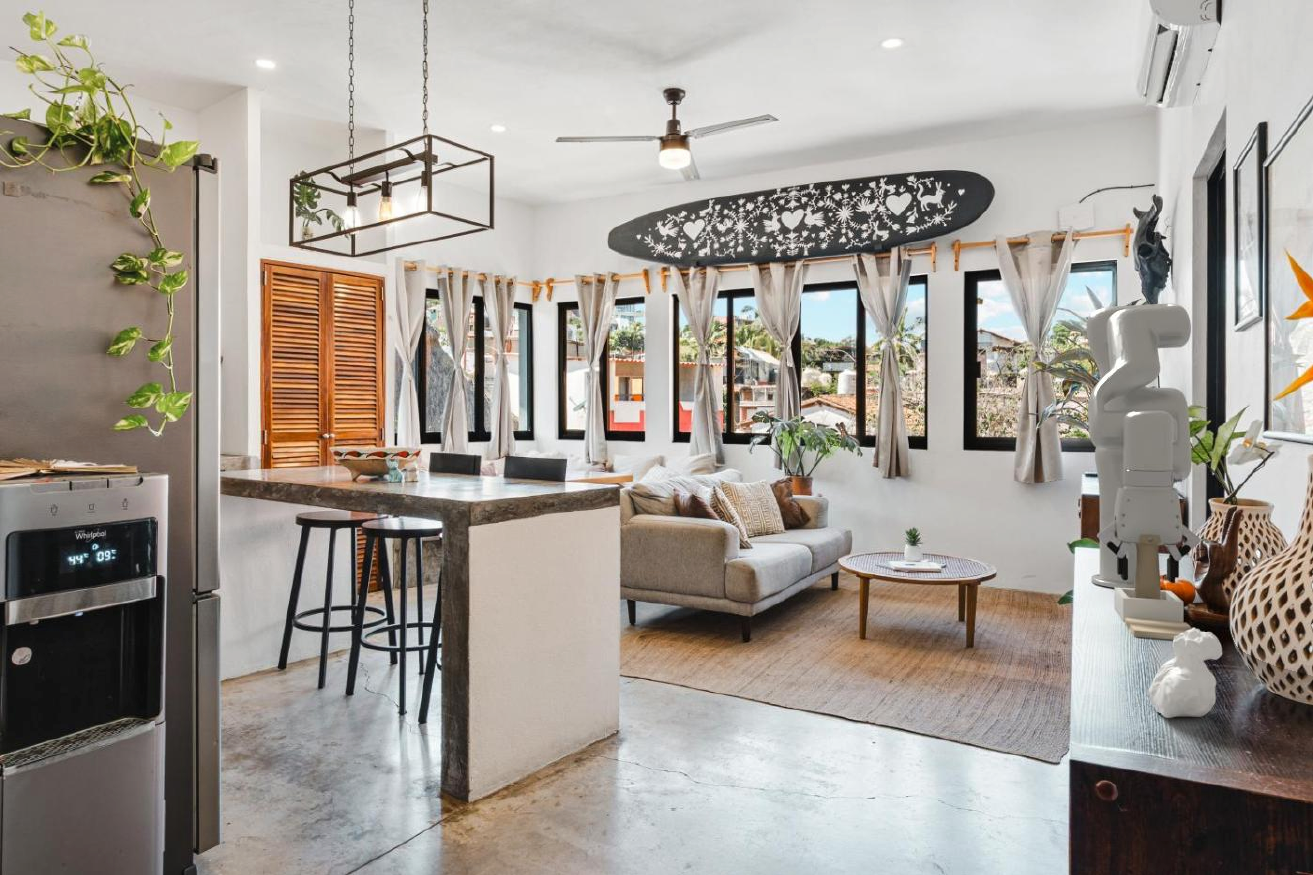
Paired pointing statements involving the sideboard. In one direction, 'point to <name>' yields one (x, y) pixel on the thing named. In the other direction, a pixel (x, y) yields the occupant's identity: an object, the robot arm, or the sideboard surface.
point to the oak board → (1156, 628)
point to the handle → (1147, 568)
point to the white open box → (1148, 606)
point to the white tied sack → (1187, 676)
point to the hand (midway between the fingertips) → (1147, 579)
